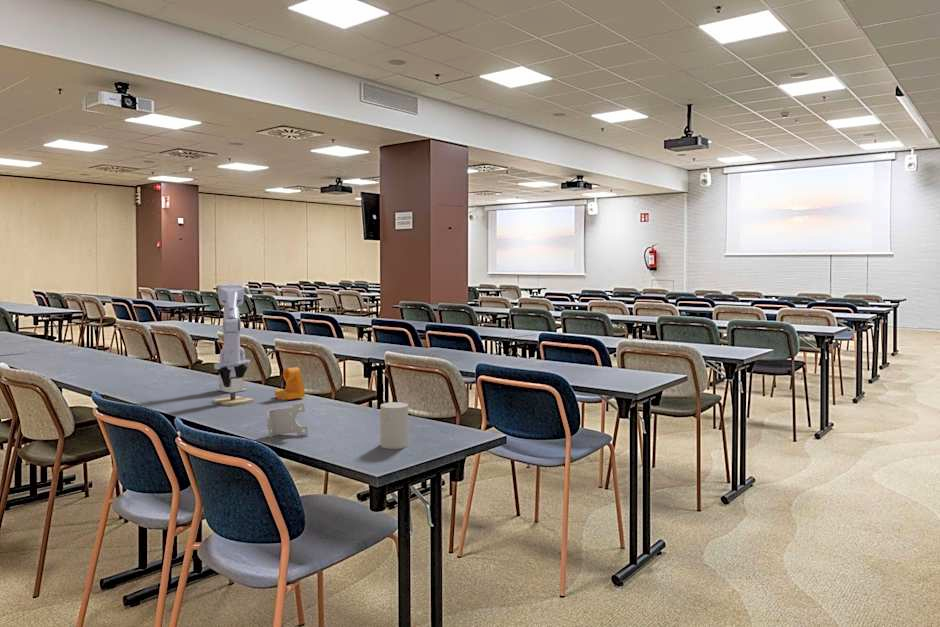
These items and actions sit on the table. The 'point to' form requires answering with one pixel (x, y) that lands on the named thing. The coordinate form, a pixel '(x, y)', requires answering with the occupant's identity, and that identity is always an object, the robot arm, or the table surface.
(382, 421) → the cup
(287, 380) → the bracket
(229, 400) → the post block
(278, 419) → the bracket
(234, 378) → the nut
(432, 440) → the table surface
